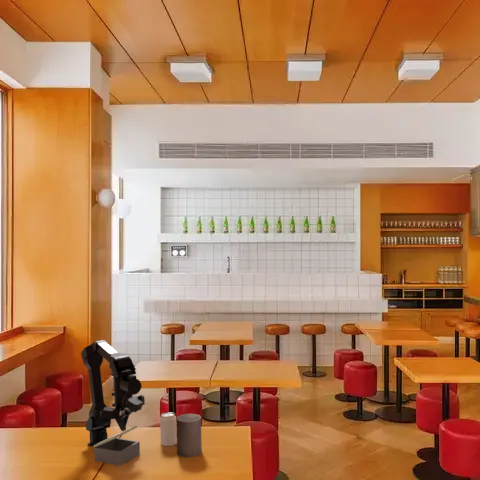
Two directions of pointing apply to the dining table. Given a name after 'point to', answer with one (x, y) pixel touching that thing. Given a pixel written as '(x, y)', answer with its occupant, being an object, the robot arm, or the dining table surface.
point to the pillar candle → (189, 435)
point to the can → (168, 429)
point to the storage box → (117, 451)
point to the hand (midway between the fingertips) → (122, 430)
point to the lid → (114, 436)
